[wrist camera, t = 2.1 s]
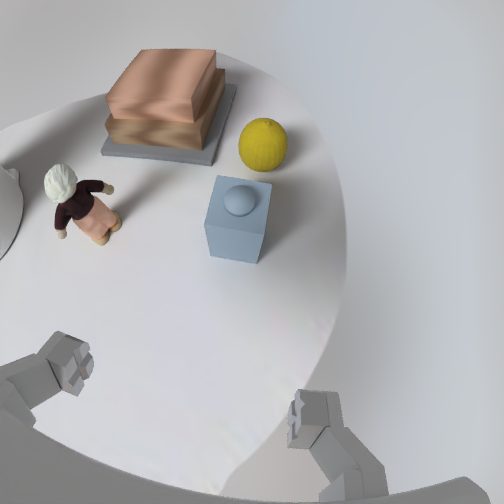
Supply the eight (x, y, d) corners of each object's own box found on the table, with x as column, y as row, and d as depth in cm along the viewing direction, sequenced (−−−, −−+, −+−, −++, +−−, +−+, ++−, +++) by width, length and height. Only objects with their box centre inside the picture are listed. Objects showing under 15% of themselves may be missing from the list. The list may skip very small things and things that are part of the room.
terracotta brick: (113, 143, 35) (95, 102, 27) (147, 85, 39) (138, 46, 32) (202, 150, 35) (197, 104, 27) (224, 89, 39) (224, 47, 32)
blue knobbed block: (210, 255, 31) (203, 220, 23) (220, 214, 33) (216, 169, 25) (256, 263, 31) (265, 230, 23) (263, 222, 33) (273, 179, 25)
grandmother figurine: (112, 200, 33) (69, 134, 21) (133, 213, 32) (93, 146, 20) (75, 249, 30) (15, 200, 18) (95, 266, 30) (34, 219, 18)
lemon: (281, 151, 37) (291, 107, 29) (281, 185, 35) (293, 143, 27) (239, 147, 36) (241, 103, 29) (236, 182, 35) (237, 139, 27)
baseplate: (102, 155, 35) (100, 151, 34) (143, 84, 41) (142, 80, 40) (211, 166, 35) (211, 161, 34) (236, 89, 41) (236, 84, 40)
